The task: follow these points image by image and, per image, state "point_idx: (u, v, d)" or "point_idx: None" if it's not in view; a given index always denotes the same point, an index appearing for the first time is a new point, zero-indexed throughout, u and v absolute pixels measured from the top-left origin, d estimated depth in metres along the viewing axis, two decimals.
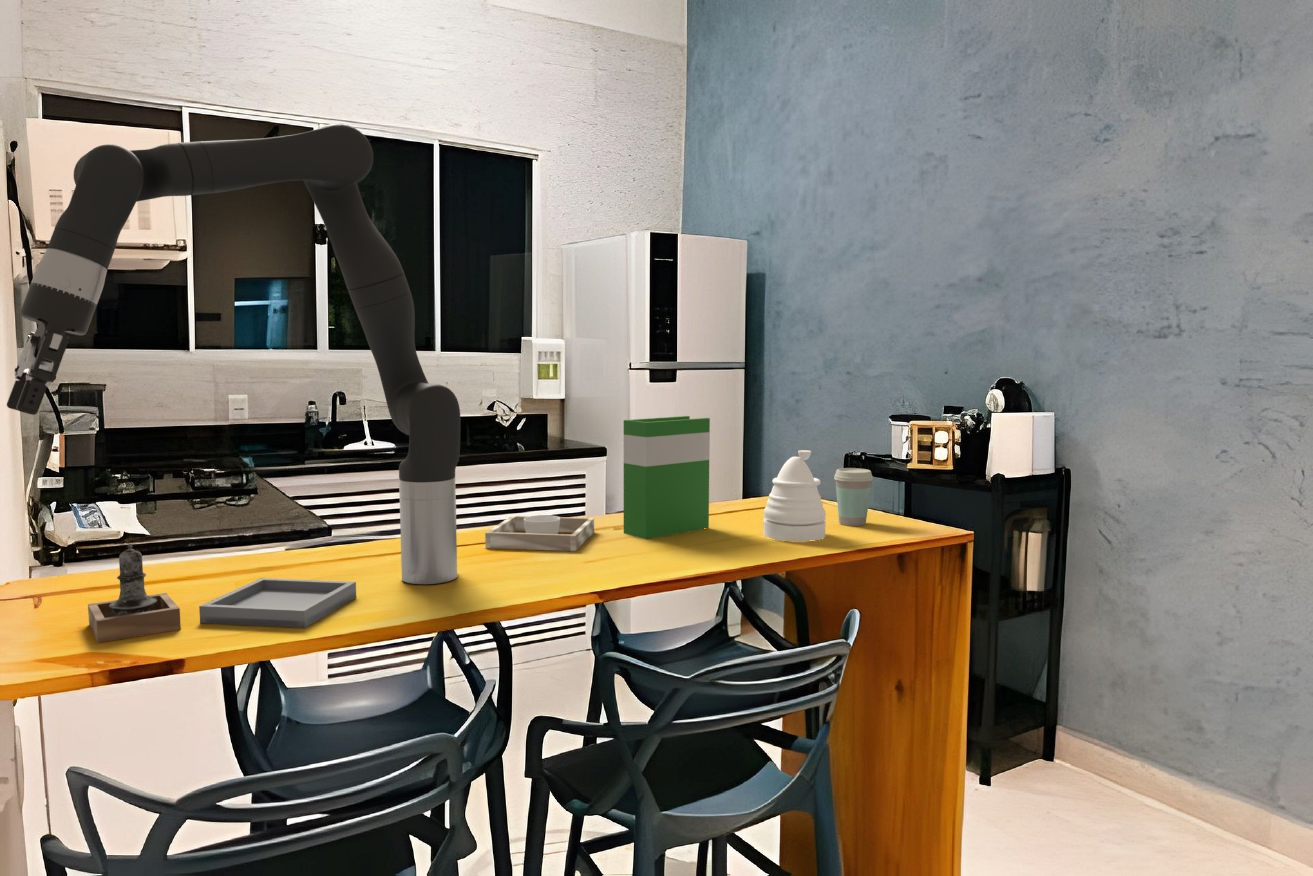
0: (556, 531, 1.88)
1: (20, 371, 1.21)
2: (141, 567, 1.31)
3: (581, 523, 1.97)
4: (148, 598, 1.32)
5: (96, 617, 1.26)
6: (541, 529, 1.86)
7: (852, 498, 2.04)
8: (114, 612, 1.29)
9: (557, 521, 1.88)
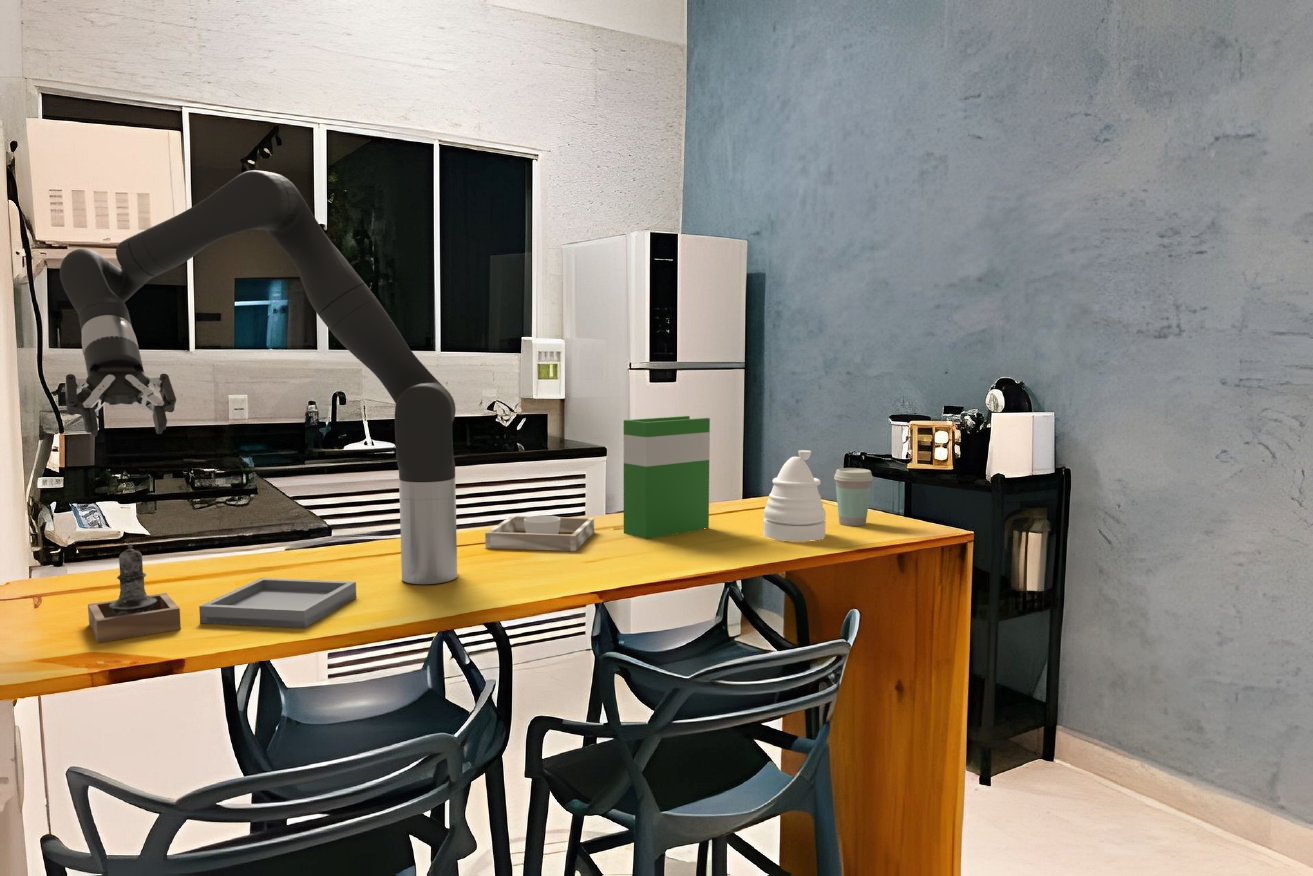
0: (556, 531, 1.88)
1: (149, 410, 1.43)
2: (141, 567, 1.31)
3: (581, 523, 1.97)
4: (148, 598, 1.32)
5: (96, 617, 1.26)
6: (542, 530, 1.86)
7: (852, 498, 2.04)
8: (114, 612, 1.29)
9: (557, 521, 1.88)
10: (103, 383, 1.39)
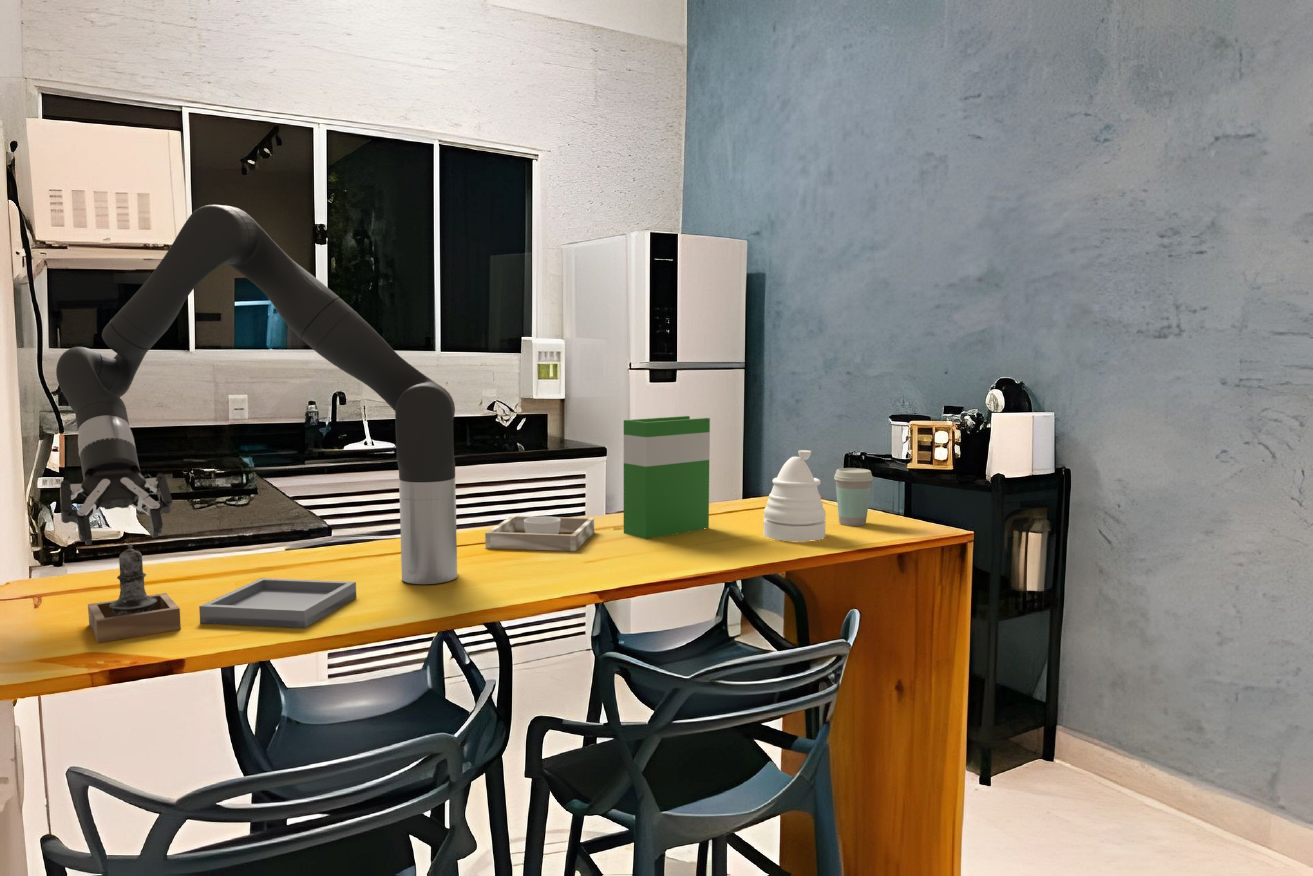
0: (556, 532, 1.87)
1: (145, 512, 1.41)
2: (141, 567, 1.31)
3: (581, 523, 1.97)
4: (148, 598, 1.32)
5: (96, 617, 1.26)
6: (542, 531, 1.85)
7: (852, 498, 2.04)
8: (114, 612, 1.29)
9: (557, 522, 1.87)
10: (97, 488, 1.37)
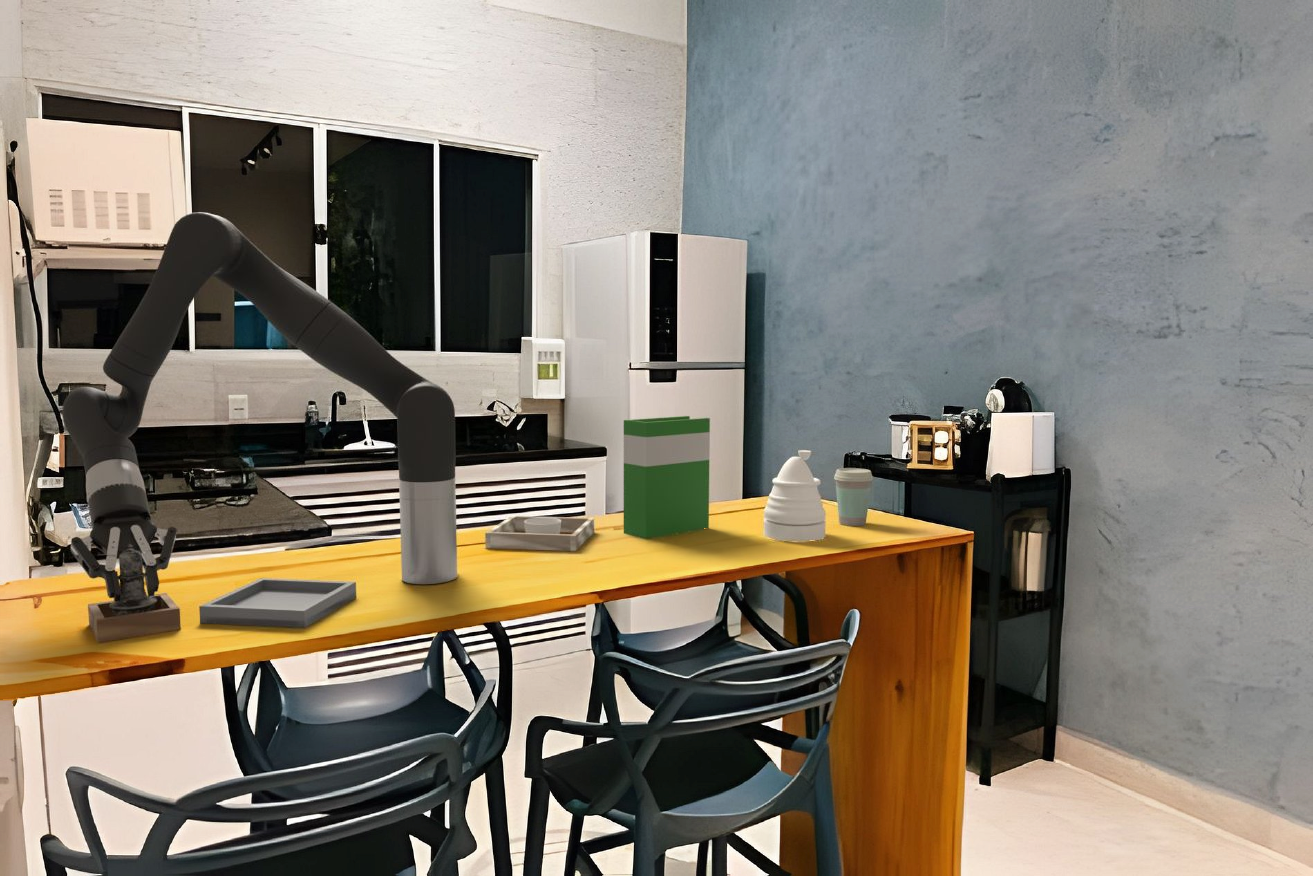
0: None
1: None
2: (141, 567, 1.31)
3: (581, 523, 1.97)
4: (148, 598, 1.32)
5: (96, 617, 1.26)
6: (542, 532, 1.84)
7: (852, 498, 2.04)
8: (114, 612, 1.29)
9: (558, 523, 1.86)
10: (111, 539, 1.32)
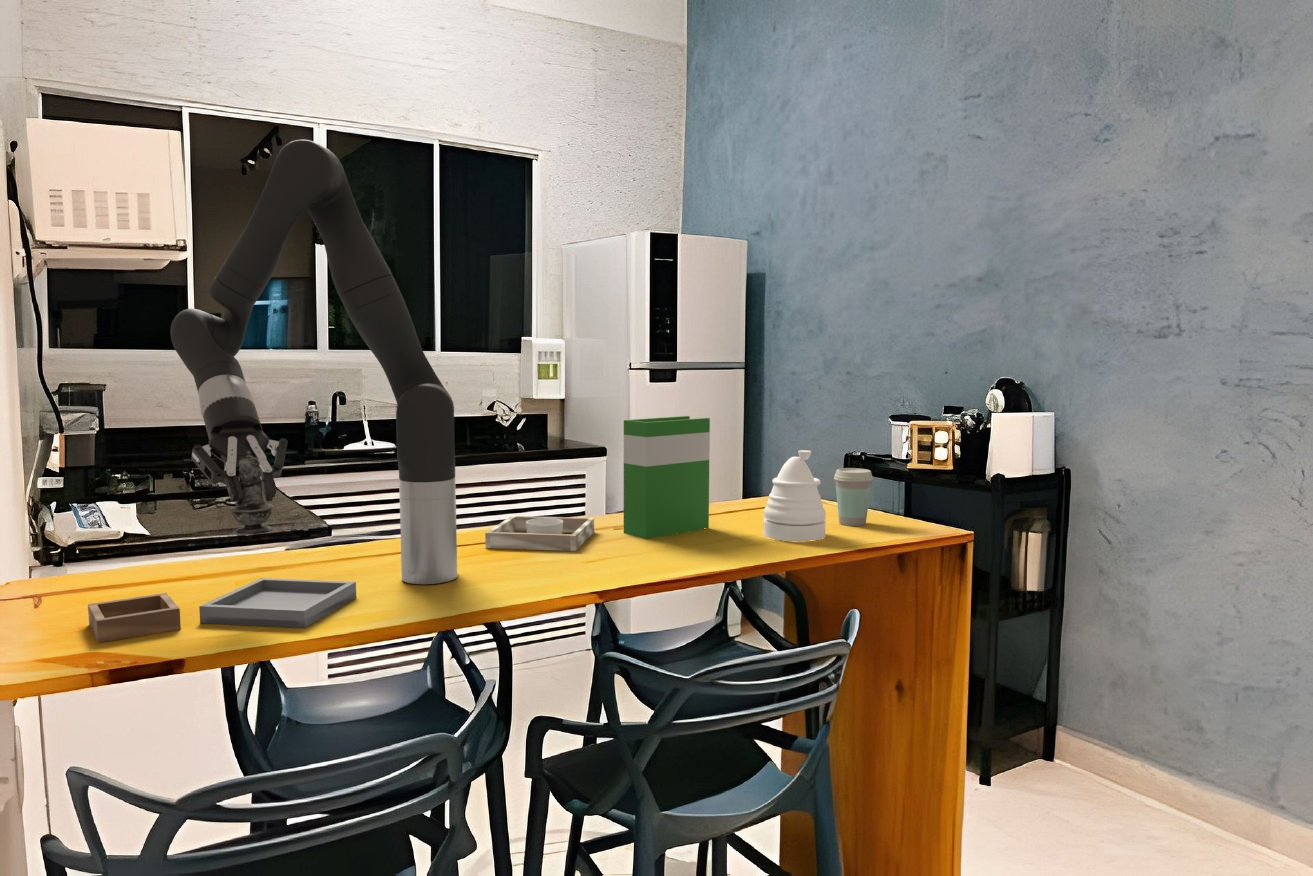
0: None
1: None
2: (259, 473, 1.37)
3: (581, 523, 1.97)
4: (266, 503, 1.37)
5: (96, 617, 1.26)
6: (544, 532, 1.83)
7: (852, 498, 2.04)
8: (235, 515, 1.35)
9: (560, 524, 1.85)
10: (230, 447, 1.37)
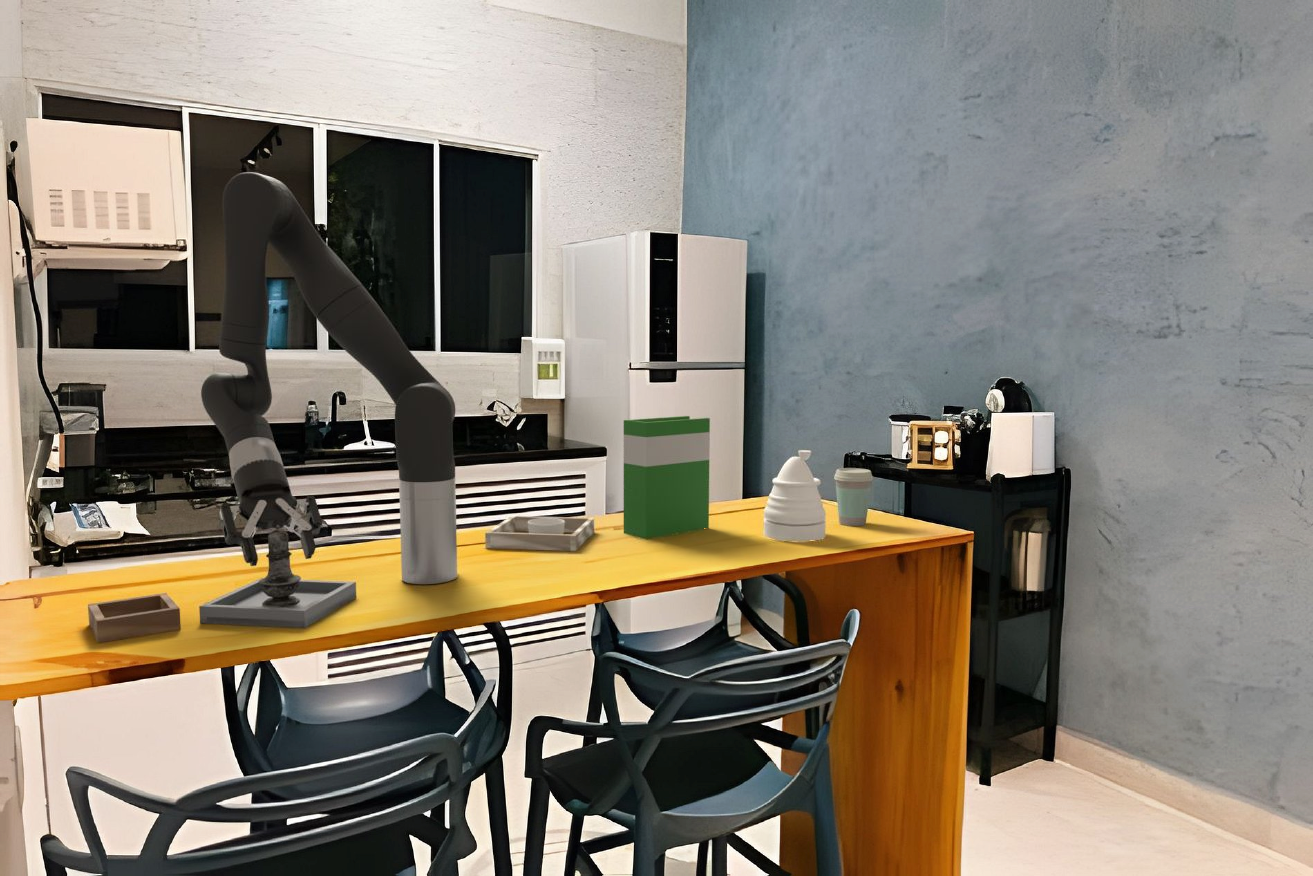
0: None
1: (296, 533, 1.44)
2: (288, 546, 1.40)
3: (581, 523, 1.97)
4: (294, 575, 1.40)
5: (96, 617, 1.26)
6: (545, 532, 1.83)
7: (852, 498, 2.04)
8: (264, 588, 1.38)
9: (561, 524, 1.85)
10: (256, 510, 1.40)
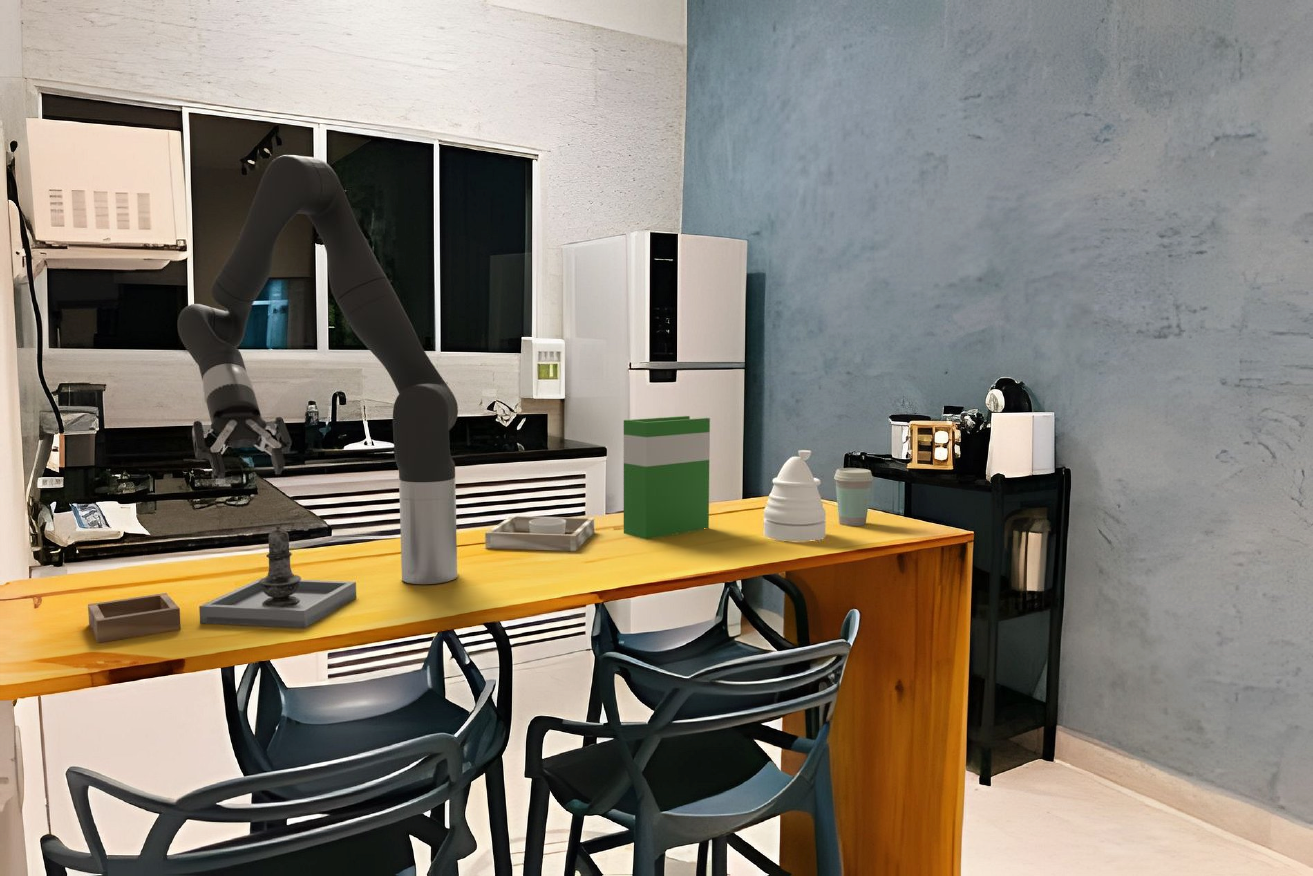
0: None
1: (267, 452, 1.53)
2: (288, 546, 1.40)
3: (581, 523, 1.97)
4: (294, 575, 1.40)
5: (96, 617, 1.26)
6: (547, 532, 1.83)
7: (852, 498, 2.04)
8: (264, 588, 1.38)
9: (563, 524, 1.85)
10: (226, 428, 1.49)
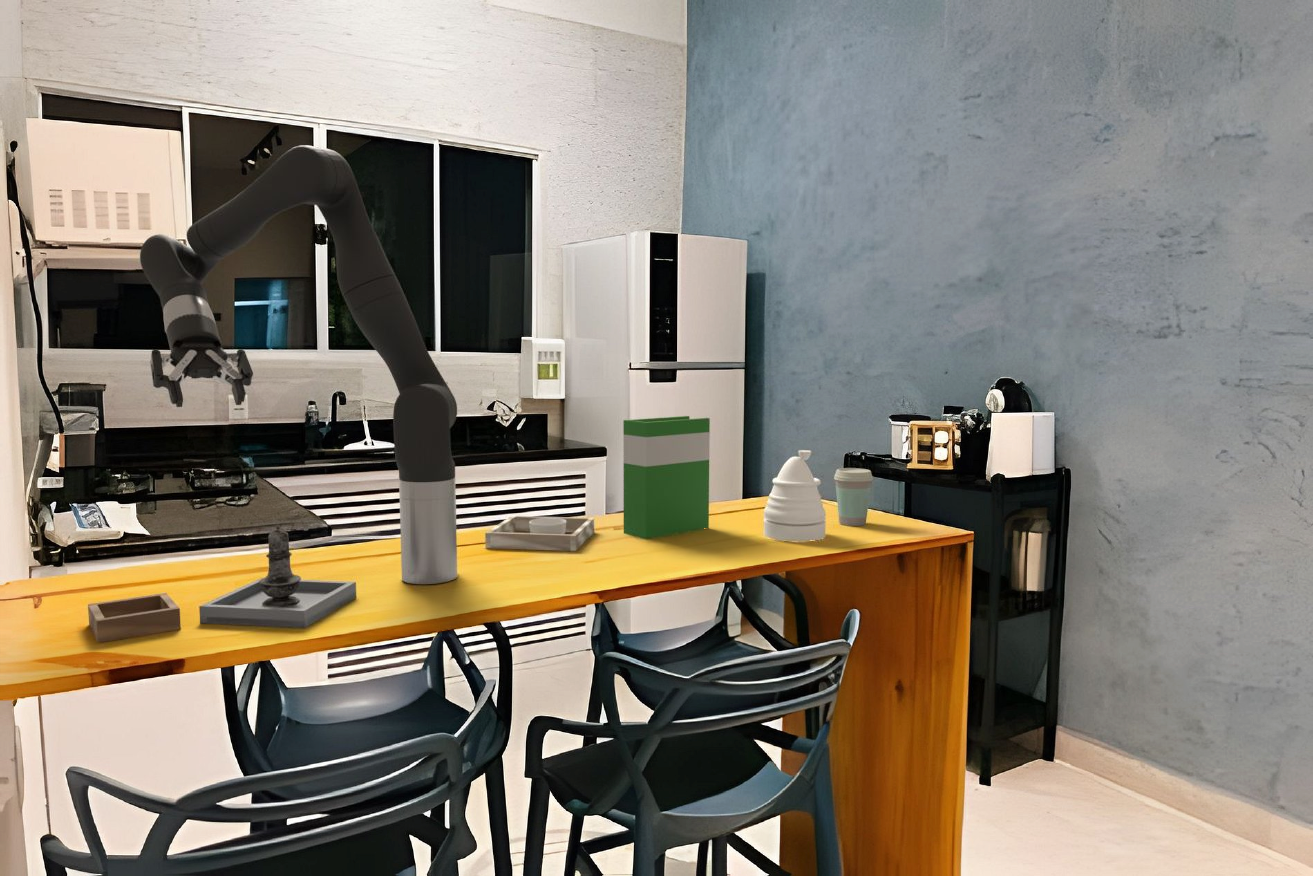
0: None
1: (228, 383, 1.50)
2: (288, 546, 1.40)
3: (581, 523, 1.97)
4: (294, 575, 1.40)
5: (96, 617, 1.26)
6: (547, 532, 1.83)
7: (852, 498, 2.04)
8: (264, 588, 1.38)
9: (563, 524, 1.85)
10: (185, 357, 1.47)
